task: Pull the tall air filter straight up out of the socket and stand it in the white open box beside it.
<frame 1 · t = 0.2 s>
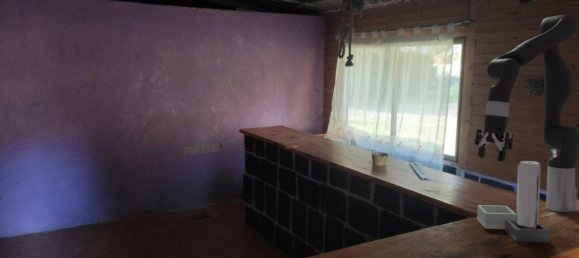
hand: (490, 159, 157), 23 cm above the table, tool pointing down, fingers open, 8 cm apart
air filter: (526, 237, 144), resting in socket
white open box: (495, 224, 156), on the table
socket: (526, 236, 144), on the table
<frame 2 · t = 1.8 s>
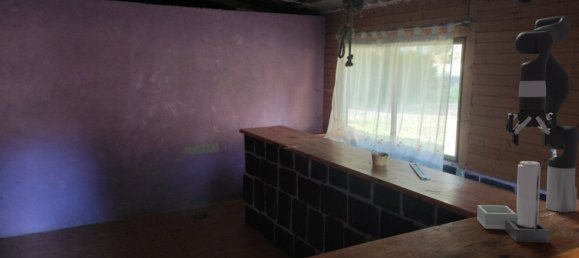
hand: (530, 145, 140), 30 cm above the table, tool pointing down, fingers open, 8 cm apart
nothing on the table moved.
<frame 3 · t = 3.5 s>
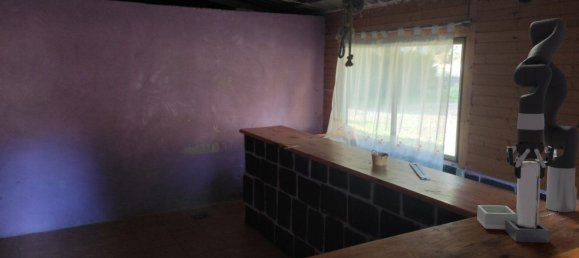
hand: (528, 178, 141), 20 cm above the table, tool pointing down, fingers closed on air filter, 6 cm apart
air filter: (526, 237, 144), resting in socket, touching gripper
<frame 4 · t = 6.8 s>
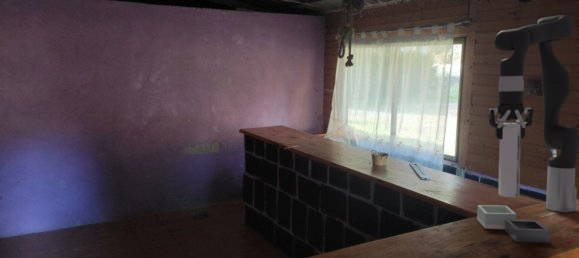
hand: (509, 138, 148), 32 cm above the table, tool pointing down, fingers closed on air filter, 6 cm apart
air filter: (508, 195, 150), point 12 cm above the table, touching gripper
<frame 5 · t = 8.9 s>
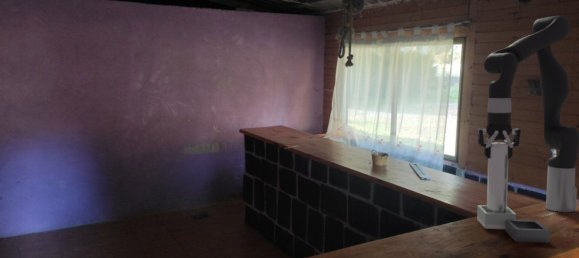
hand: (497, 157, 154), 24 cm above the table, tool pointing down, fingers closed on air filter, 6 cm apart
air filter: (496, 212, 156), point 4 cm above the table, touching gripper
when the fingers open (23 cm above the table, at t = 10.4 s): air filter drops 1 cm, resting on white open box.
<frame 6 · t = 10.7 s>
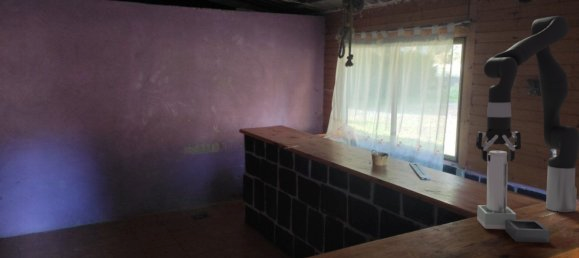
hand: (497, 161, 154), 23 cm above the table, tool pointing down, fingers open, 8 cm apart
air filter: (496, 220, 156), point 1 cm above the table, touching white open box
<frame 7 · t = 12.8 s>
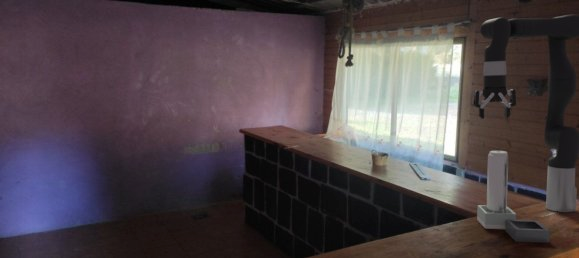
hand: (494, 118, 161), 38 cm above the table, tool pointing down, fingers open, 8 cm apart
nothing on the table moved.
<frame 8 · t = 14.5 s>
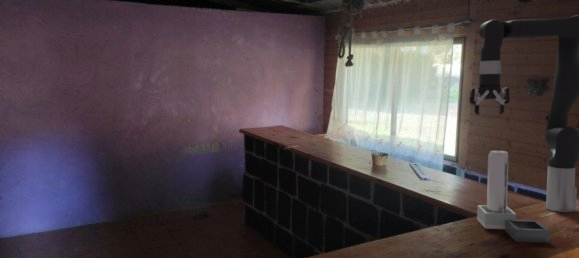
hand: (488, 114, 170), 38 cm above the table, tool pointing down, fingers open, 8 cm apart
nothing on the table moved.
at the end: air filter 0.2 cm off-centre on the white open box, point 1.3 cm above the white open box's base; air filter tilted 0°; the gripper is holding nothing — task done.
